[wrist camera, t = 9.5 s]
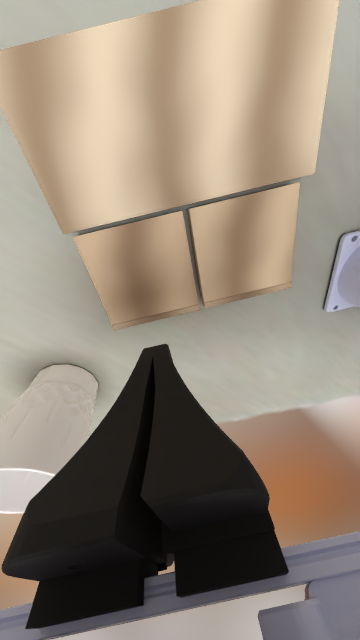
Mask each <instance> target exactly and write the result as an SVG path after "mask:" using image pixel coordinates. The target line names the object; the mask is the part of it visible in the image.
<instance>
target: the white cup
mask: <svg viewBox="0 0 360 640" xmlns="http://www.w3.org/2000/svg"><path fill="white" fill-rule="evenodd" d="M97 392H98V382H97V381H96V379H95V378H94V376H93V375H92V374H91V373H89V372H88V371H86V370H85V369H83V368H80V367H77V366H73V365H69V364H64V365H52V366H50V367H47V368H45V369H43V370H41V371H40V372H39V373H38V375H37V376H36V377H35V379H34V380H33V381H32V383H31V384H30V385H29V386H28V388H27V389H26V390H25V391H24V392H23V393H22V394H20V396H19V397H18V399H17V400H16V401H15V402H14V403H13V404H12V406H11V407H10V408H9V410H8V411H7V413H6V414H5V415H4V416H3V417H2V418H1V419H0V513H24V512H25V510H26V507H27V505H28V503H29V501H30V500H31V499H32V498H33V497H34V496H35V495H36V494H37V493H38V492H39V491H40V490H41V489H42V488H43V487H44V486H45V485H46V484H47V483H48V482H49V481H50V480H51V479H52V478H53V477H54V476H55V475H56V474H57V473H58V472H59V471H60V470H61V469H62V468H63V467H64V466H65V464H66V463H67V462H68V461H69V460H70V459H71V458H72V457H73V456H74V455H75V453H76V452H77V451H78V450H79V449H80V448H81V446H82V445H83V444H84V443H85V442H86V441H87V440H88V437H89V431H90V427H91V423H92V417H93V413H94V404H95V400H96V396H97Z"/></svg>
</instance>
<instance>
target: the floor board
mask: <svg viewBox="0 0 360 640" xmlns="http://www.w3.org/2000/svg"><path fill="white" fill-rule="evenodd" d="M338 6H339V0H200V1H196V2H192V3H188V4H184V5H180V6H176V7H172V8H168V9H164V10H160V11H156V12H152V13H148V14H144V15H140V16H136V17H132V18H128V19H124V20H120V21H116V22H112V23H108V24H104V25H100V26H96V27H92V28H88V29H84V30H80V31H76V32H72V33H68V34H64V35H59V36H55V37H51V38H47V39H43V40H39V41H35V42H31V43H27V44H23V45H19V46H15V47H11V48H7V49H3V50H0V107H1V109H2V111H3V113H4V115H5V117H6V119H7V121H8V123H9V125H10V127H11V129H12V131H13V133H14V135H15V137H16V139H17V141H18V143H19V145H20V147H21V149H22V151H23V153H24V155H25V158H26V160H27V162H28V164H29V166H30V168H31V170H32V172H33V174H34V176H35V178H36V180H37V182H38V184H39V186H40V188H41V190H42V192H43V194H44V196H45V198H46V200H47V202H48V204H49V206H50V208H51V210H52V212H53V214H54V216H55V218H56V220H57V222H58V224H59V226H60V229H61V231H62V233H63V234H67V233H71V232H75V231H79V230H83V229H87V228H91V227H96V226H100V225H104V224H108V223H112V222H116V221H120V220H125V219H129V218H133V217H137V216H141V215H145V214H149V213H154V212H158V211H162V210H166V209H170V208H174V207H178V206H183V205H187V204H191V203H195V202H199V201H203V200H207V199H212V198H216V197H220V196H224V195H228V194H232V193H236V192H241V191H245V190H249V189H253V188H257V187H261V186H265V185H270V184H274V183H278V182H282V181H286V180H290V179H294V178H299V177H303V176H307V175H311V174H315V167H316V160H317V153H318V146H319V139H320V132H321V125H322V118H323V111H324V104H325V97H326V90H327V83H328V76H329V69H330V62H331V55H332V48H333V41H334V34H335V27H336V20H337V13H338Z"/></svg>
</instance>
